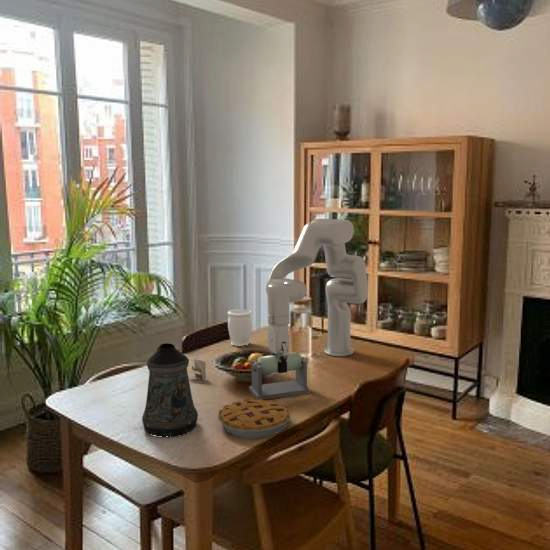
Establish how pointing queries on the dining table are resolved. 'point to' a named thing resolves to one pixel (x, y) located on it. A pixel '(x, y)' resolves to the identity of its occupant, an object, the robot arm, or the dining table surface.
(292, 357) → the roll
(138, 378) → the dining table surface
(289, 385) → the roll holder
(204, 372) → the architectural model
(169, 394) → the beer stein
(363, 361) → the dining table surface
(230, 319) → the jar
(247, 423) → the pie
